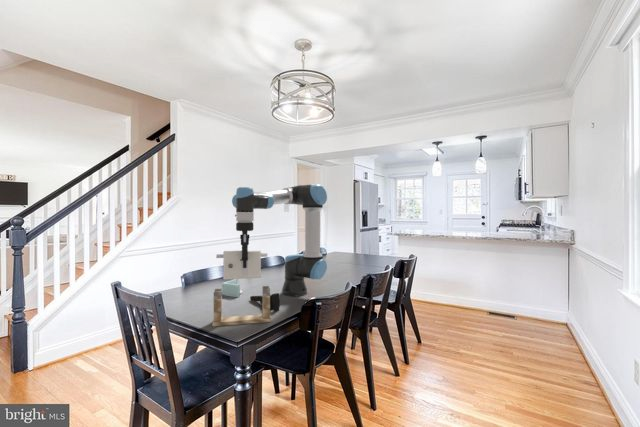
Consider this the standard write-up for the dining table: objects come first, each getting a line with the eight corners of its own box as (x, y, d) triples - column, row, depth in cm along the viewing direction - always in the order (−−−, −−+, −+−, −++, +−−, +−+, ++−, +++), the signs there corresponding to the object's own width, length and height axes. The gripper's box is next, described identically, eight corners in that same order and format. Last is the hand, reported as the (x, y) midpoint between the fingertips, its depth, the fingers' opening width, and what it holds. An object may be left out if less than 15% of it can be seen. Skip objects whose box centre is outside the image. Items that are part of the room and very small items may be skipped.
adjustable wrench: (255, 309, 171) (280, 310, 153) (250, 310, 169) (276, 311, 151) (253, 293, 172) (278, 293, 154) (249, 294, 170) (274, 294, 152)
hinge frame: (270, 317, 144) (270, 285, 144) (271, 321, 138) (271, 289, 138) (213, 321, 138) (213, 288, 138) (212, 326, 132) (212, 292, 132)
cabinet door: (266, 275, 142) (267, 249, 142) (267, 278, 138) (267, 251, 138) (216, 278, 137) (216, 251, 137) (215, 280, 133) (215, 252, 132)
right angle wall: (238, 298, 176) (238, 285, 176) (222, 295, 181) (222, 283, 181) (251, 293, 187) (251, 280, 187) (235, 291, 192) (235, 279, 192)
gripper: (236, 221, 145) (236, 270, 145) (235, 222, 129) (235, 278, 129) (253, 221, 147) (252, 270, 147) (253, 222, 131) (253, 277, 131)
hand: (244, 273), depth 138 cm, fingers closed on cabinet door, 3 cm apart
